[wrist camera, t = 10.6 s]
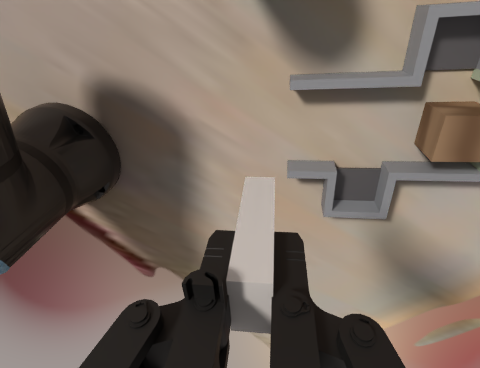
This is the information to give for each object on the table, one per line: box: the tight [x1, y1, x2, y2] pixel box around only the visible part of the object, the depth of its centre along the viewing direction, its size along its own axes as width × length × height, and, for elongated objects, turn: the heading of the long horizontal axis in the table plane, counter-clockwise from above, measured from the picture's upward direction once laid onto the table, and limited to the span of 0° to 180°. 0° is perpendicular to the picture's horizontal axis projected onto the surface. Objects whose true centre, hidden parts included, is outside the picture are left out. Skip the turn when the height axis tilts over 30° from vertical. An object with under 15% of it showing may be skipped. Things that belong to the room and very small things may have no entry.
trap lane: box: [287, 1, 480, 219], centre depth 33 cm, size 23×24×3 cm
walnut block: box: [414, 102, 480, 162], centre depth 31 cm, size 5×5×5 cm
